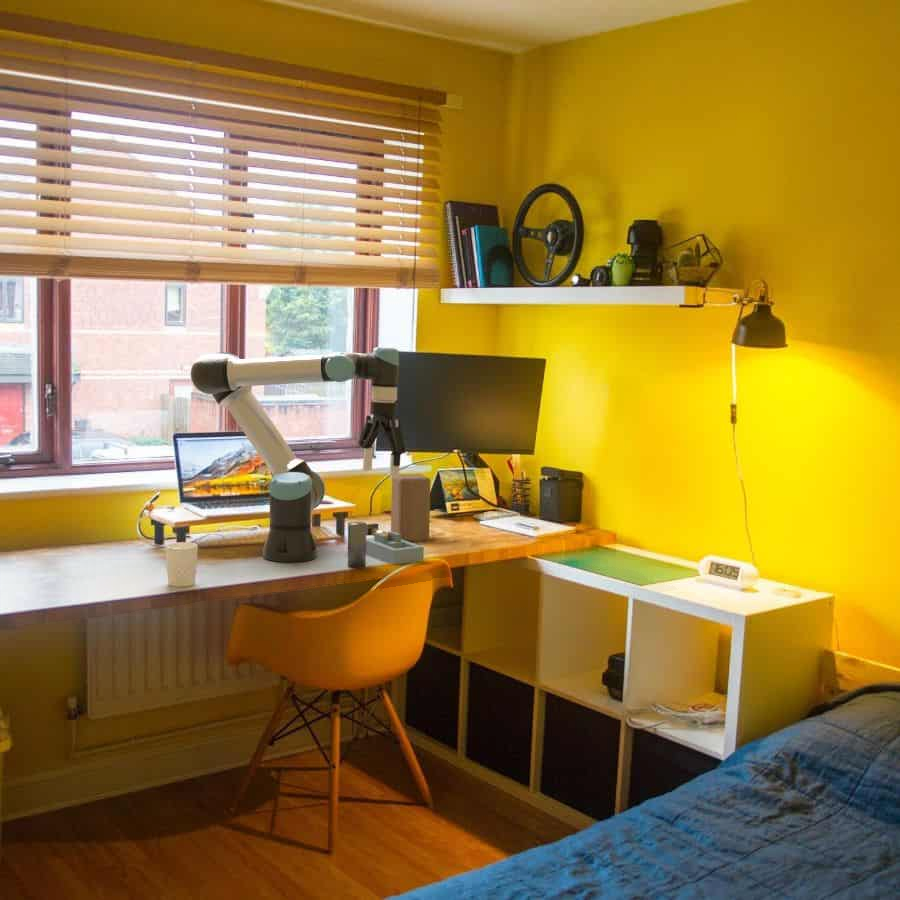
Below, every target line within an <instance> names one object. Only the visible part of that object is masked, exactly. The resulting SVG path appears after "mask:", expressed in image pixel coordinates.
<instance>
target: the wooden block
mask: <svg viewBox="0 0 900 900" xmlns="http://www.w3.org/2000/svg"><path fill="white" fill-rule="evenodd" d="M390 503H391V507H390V509H391V512H390V532H395V533H398V534H401V539H402V540H405V541H408V542H410V543H414V542H415V543H417V542H418V543H419V542H427V541H429V540H430V520H431V519H430V517H431V516H430V513H431V512H430V511H431V479H430V477H428V476H426V475H424V474H421V473H399V477H391V502H390Z"/></svg>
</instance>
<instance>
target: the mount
mask: <svg viewBox="0 0 900 900" xmlns="http://www.w3.org/2000/svg"><path fill="white" fill-rule="evenodd" d="M387 532H388V533H390V539H389V540H388V536H387V535H384V534H381V533H375V536H373V537H366V556H370V557H373V558H376V559H377V560H380V561H383V562H385V563H387V564H388V563H389V564H392V565H400V564H407V563H408V564H409V563H417V562H416V561H418V562H421V561H420V560H423V561H424V556H425V555H424V554H425V553H424V552H425V551H424V546H422V545H419V544H416V543H414V542H408V541H405V540H402V539H401V534H398V533H395V532H391V531H387Z"/></svg>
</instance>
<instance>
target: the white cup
mask: <svg viewBox="0 0 900 900" xmlns="http://www.w3.org/2000/svg"><path fill="white" fill-rule="evenodd" d="M165 561H166V575H167V585H168V586H170V587H175V588H176V587H177V588H184V587H191V586H194V585H195V584H196V577H197V576H196V575H197V574H196V573H197V563H198V544H197V543H196V542H195V543H194V542H185V541H180V542H170V543H167V544H165Z"/></svg>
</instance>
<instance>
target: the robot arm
mask: <svg viewBox="0 0 900 900" xmlns="http://www.w3.org/2000/svg"><path fill="white" fill-rule="evenodd" d="M399 352H400V351H399V350H398V349H397V348H393V347H377V346H376V347H374V348H373V351H372V353H359V352H350V351H349V352H348V351H335V352H333V353H332V354H319V355H316V354H315V355H302V356H301V355H300V356H299V355H298V356H297V355H296V356H282V357H280V356H279V357H278V356H277V357H265V358H245V359H244V358H243V359H241V358H239V357H238V356H237V355H235V354H232V353H229V352H224V351H223V352H222V351H221V352H216V353H207V354H203V355H201V356H200V357H198V358H197V359H196V360H195V361H194V362H193V364H192V366H191V369H190V378H191V382H192V384H193V386H194V388H195V389H197V390H198V391H200V392H201V393H203V394H206V395H212V397H213V398H214V400H215V401H216V403H217V404H218V406H220V407H224V408H227V410H228V412H229V413H230V414H231V417H232V418H233V419H234V420H235V421H236V423H237V424H238V427H239V428H240V429H241V430H242V432H243V433H244V435H245V436H246V438H247V439H248V441H249V442H250V444H251V445H252V447H253V448H254V449H255V451H256V452H257V454H258V456H260V459H261V460H262V461H263V463H264V464H265V466H266V467H267V468H268V470H269V472H270V473H271V474H272V476H271V477H272V478H270V481H269V482H270V483H269V487H268V488H269V489H268V492H269V531H268V534H267V537H266V539H265V543H264V546H263V549H262V554H263V555H262V557H263V559H265V560H267V561H271V562H272V561H273V562H279V563H280V562H281V563H282V562H283V563H297V562H298V563H299V562H307V561H312V560H314V559H316V558H317V556H318V549H317V545H316V542H315V539H314V536H313V533H312V511H313V510H314V509H316V508H317V507H319V506H320V504H321V503H322V501H323V499H324V498H325V494H326V485H325V482H324V479H323V478H322V477H321V476H320V475H319V474H318V473H317V472H315V471H313V470H312V469H311V467H310V466H309V465H308V463H307V461H306V460H305V459H301V458H297V457H296V455H295V453H294V452H293V450H292V449H291V447H290V446H289V444H288V443H287V441H286V440H285V439H284V437H283V436H282V434H281V433H280V432H279V430H278V428H277V427H276V425H275V424H274V422H273V421H272V419H271V418H270V417H269V415H268V414H267V412H266V410H264V408H263V406H262V404H260V402H259V400H258V399H257V398H256V396H255V395H254V393H253V391H252V387H254V386H256V387H257V386H273V385H274V386H275V385H276V386H277V385H289V384H290V385H291V384H294V385H295V384H308V383H309V384H310V383H311V384H312V383H326V382H327V383H329V382H331V383H332V382H336V383H343V382H347V381H349V380H367V381H369V380H371V392H370V399H371V400H372V401H371V402H370V411H369V412H370V414H371V415H366V417H365V425H364V427H363V430H362V433H361V435H360V439H359V441H358V445H359V446H361V447H362V449H363V451H362V458H363V459H362V461H363V462H362V471H373V454H374V453H373V452H374V451H373V450H374V449H373V448H374V447H373V445H374V443H375V441H376V439H377V438H378V436H379V434H382V435H383V436H385V438H386V441H387V442H388V446H389V448H390V450H391V453H390V459H389V461H390V462H389V464H390V465H389V478H392V477H399V474H400V465H401V455H403V454H406V452H407V451H406V446H405V442H404V441H405V440H404V438H403V432H402V430H401V420H400V419H394V416H396V415H397V404H398V403H397V402H396V401H398V382H399V367H400V363H399V359H400V358H399V355H400V353H399Z"/></svg>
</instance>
